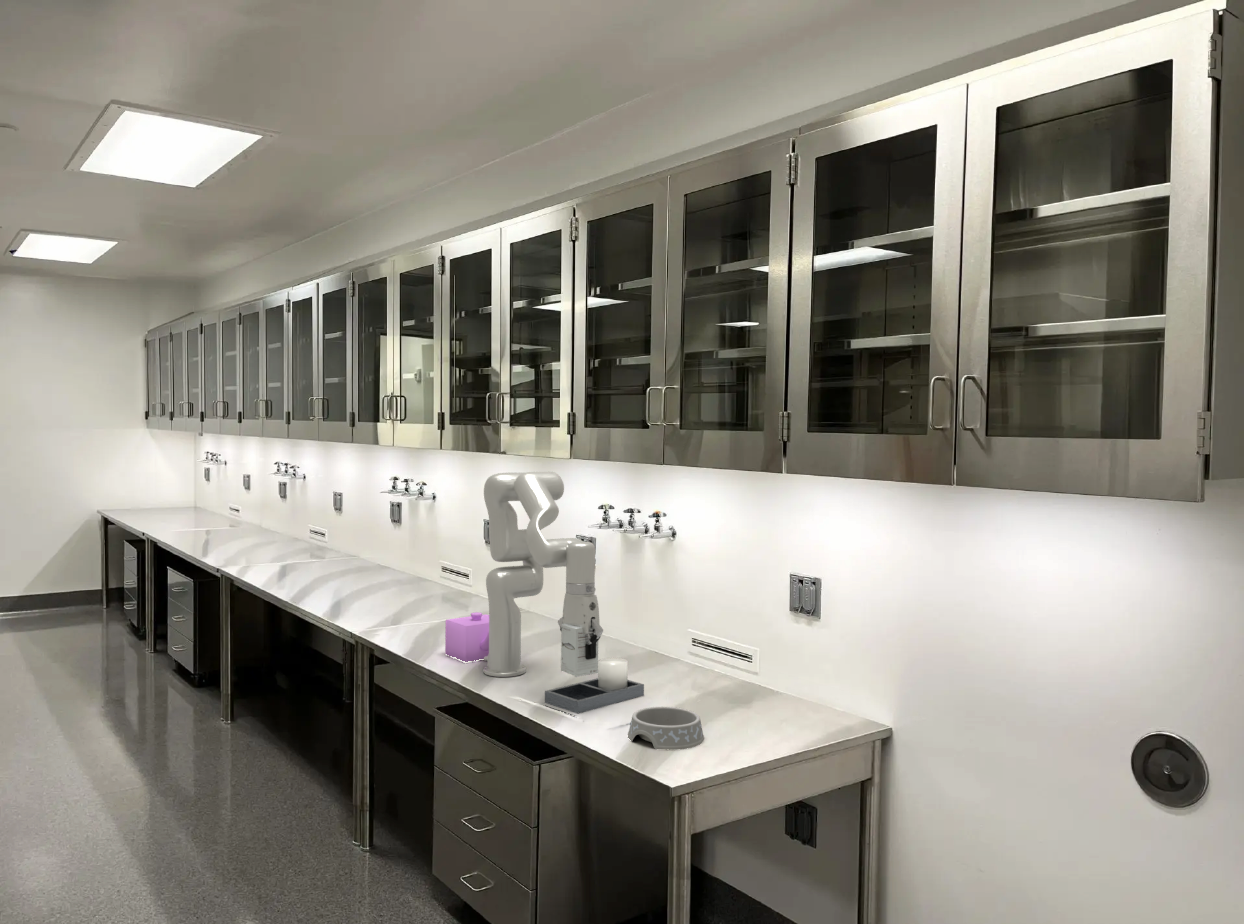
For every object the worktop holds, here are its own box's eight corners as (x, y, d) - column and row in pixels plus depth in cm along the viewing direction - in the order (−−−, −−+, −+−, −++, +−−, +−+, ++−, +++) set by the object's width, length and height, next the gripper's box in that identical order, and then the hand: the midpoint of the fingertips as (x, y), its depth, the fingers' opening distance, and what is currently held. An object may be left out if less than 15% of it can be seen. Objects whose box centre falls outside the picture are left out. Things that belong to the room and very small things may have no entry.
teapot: (477, 668, 276) (477, 622, 276) (437, 652, 296) (438, 610, 295) (519, 661, 286) (519, 617, 286) (478, 646, 305) (478, 605, 305)
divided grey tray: (544, 706, 238) (544, 691, 238) (610, 689, 255) (610, 674, 255) (577, 717, 229) (577, 701, 229) (643, 699, 246) (644, 684, 246)
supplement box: (560, 671, 239) (560, 623, 238) (583, 667, 243) (583, 620, 243) (575, 677, 233) (575, 628, 232) (599, 673, 237) (599, 625, 237)
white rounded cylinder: (591, 693, 247) (592, 661, 247) (613, 688, 252) (613, 656, 252) (612, 700, 241) (612, 666, 241) (633, 694, 247) (633, 661, 246)
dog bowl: (658, 721, 228) (658, 700, 228) (718, 738, 216) (718, 715, 216) (613, 737, 215) (613, 715, 215) (674, 756, 203) (674, 732, 203)
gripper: (613, 591, 234) (613, 659, 234) (569, 583, 246) (568, 648, 247) (592, 594, 229) (591, 664, 229) (547, 586, 241) (547, 652, 241)
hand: (579, 655), depth 238 cm, fingers closed on supplement box, 7 cm apart
